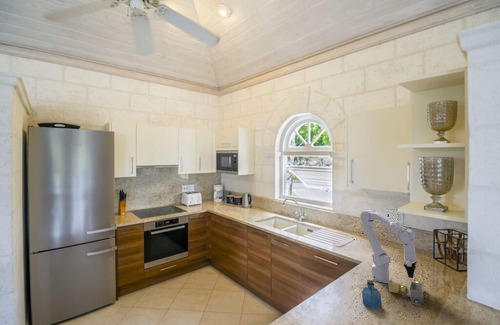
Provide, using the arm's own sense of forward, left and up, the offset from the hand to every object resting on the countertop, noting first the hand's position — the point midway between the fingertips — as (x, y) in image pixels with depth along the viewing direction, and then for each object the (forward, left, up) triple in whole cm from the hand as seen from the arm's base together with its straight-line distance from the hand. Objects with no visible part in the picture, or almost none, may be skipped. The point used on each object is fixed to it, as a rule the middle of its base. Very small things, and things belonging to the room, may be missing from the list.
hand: (411, 275), depth 135 cm
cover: (+3, +3, -9) cm, 10 cm away
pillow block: (+2, -8, -9) cm, 12 cm away
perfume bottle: (-16, -27, -9) cm, 33 cm away
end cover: (-5, -8, -9) cm, 13 cm away
